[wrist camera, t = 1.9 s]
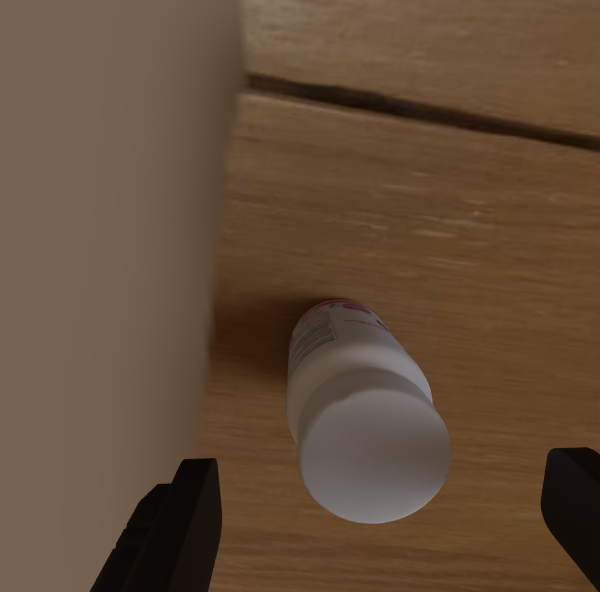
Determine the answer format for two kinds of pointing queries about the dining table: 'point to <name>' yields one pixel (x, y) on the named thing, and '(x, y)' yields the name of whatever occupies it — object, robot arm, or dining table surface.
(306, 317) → the pill bottle
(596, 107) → the dining table surface
